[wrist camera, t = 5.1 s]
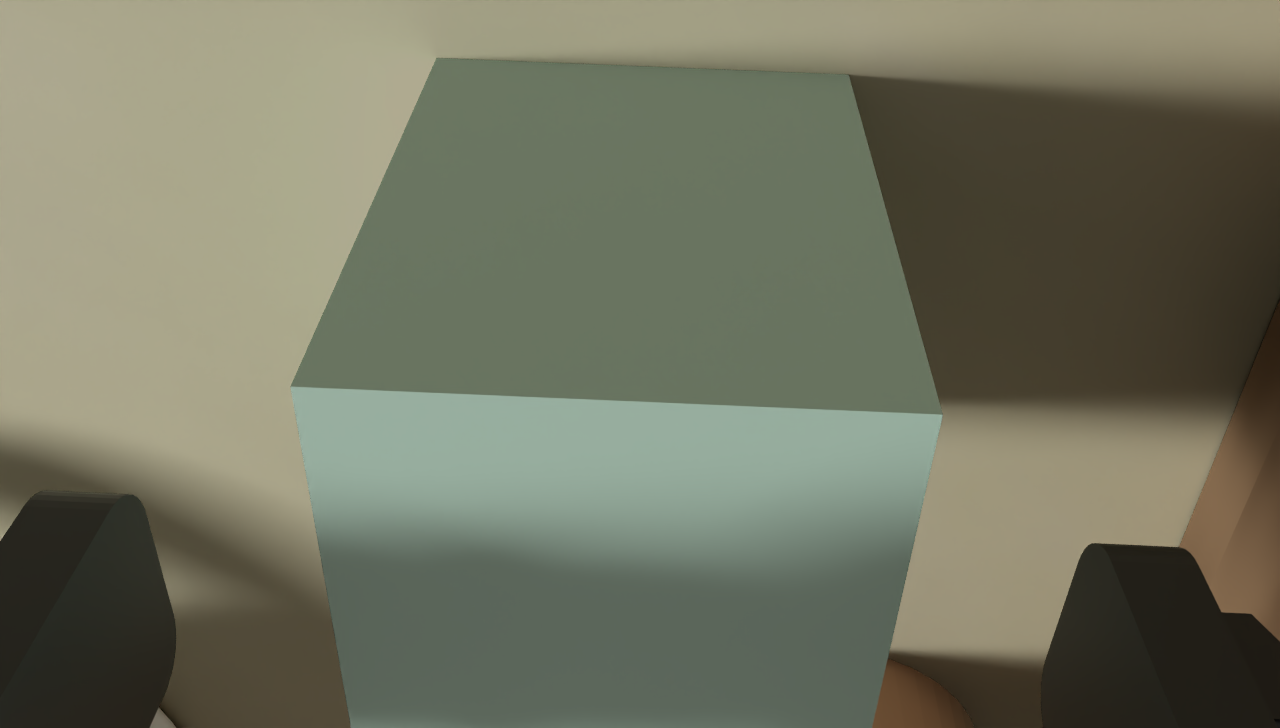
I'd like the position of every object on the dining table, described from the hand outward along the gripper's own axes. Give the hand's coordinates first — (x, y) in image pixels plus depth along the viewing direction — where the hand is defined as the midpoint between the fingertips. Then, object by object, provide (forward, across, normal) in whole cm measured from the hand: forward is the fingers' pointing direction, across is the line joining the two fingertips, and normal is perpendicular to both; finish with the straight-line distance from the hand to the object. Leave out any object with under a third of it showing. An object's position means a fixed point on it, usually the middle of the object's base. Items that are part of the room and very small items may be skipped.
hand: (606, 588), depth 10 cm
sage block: (+5, 0, 0) cm, 5 cm away
